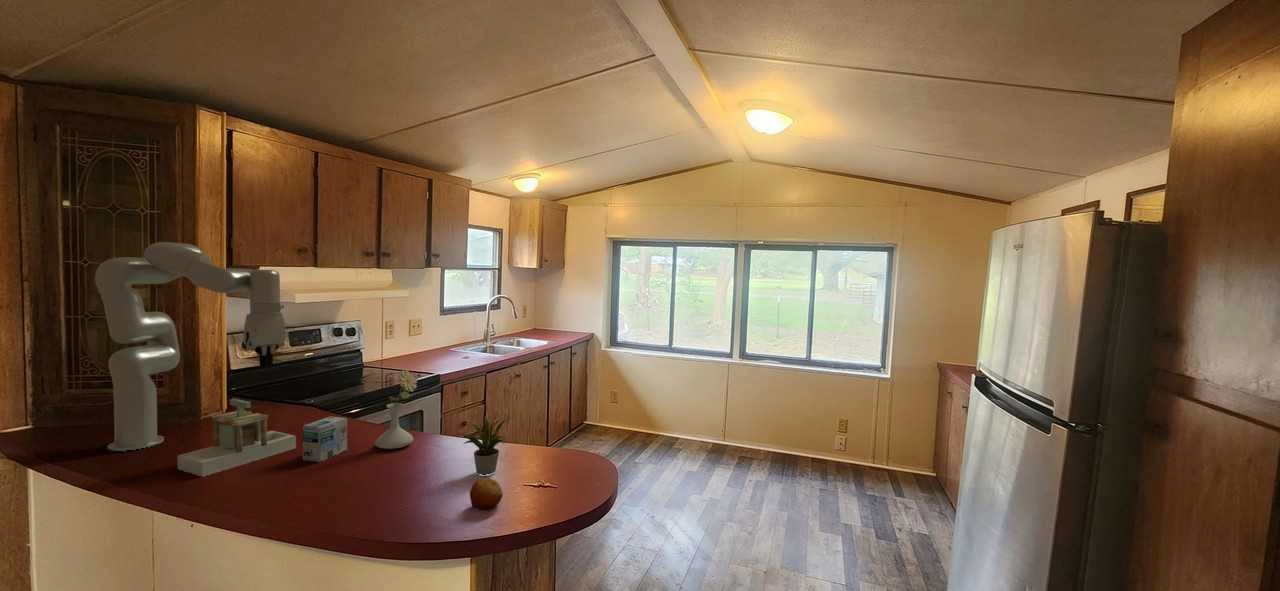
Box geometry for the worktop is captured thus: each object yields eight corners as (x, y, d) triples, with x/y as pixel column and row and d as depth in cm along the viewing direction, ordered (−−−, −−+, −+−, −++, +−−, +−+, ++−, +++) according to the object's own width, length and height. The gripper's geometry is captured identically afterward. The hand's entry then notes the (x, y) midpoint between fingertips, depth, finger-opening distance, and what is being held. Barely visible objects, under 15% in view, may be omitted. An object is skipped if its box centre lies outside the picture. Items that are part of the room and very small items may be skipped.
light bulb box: (320, 462, 147) (320, 427, 146) (301, 460, 148) (301, 425, 147) (348, 450, 157) (348, 417, 157) (330, 448, 158) (330, 415, 158)
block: (225, 446, 147) (225, 430, 147) (244, 441, 151) (244, 425, 151) (236, 449, 145) (236, 432, 145) (254, 443, 150) (254, 427, 149)
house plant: (493, 458, 154) (494, 407, 153) (523, 469, 146) (524, 415, 145) (452, 472, 142) (453, 417, 141) (482, 485, 134) (483, 426, 133)
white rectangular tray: (177, 469, 139) (177, 455, 139) (271, 442, 162) (271, 430, 162) (202, 477, 134) (202, 462, 134) (295, 448, 158) (295, 435, 157)
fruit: (466, 494, 125) (483, 468, 125) (493, 509, 126) (509, 483, 126) (457, 509, 117) (475, 481, 117) (485, 525, 118) (503, 497, 118)
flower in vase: (388, 454, 154) (389, 376, 153) (367, 447, 160) (367, 372, 159) (425, 443, 166) (425, 370, 165) (404, 436, 171) (404, 366, 170)
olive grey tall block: (218, 445, 146) (217, 402, 146) (245, 437, 153) (245, 396, 152) (234, 449, 143) (234, 405, 143) (262, 441, 150) (261, 399, 150)
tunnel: (211, 445, 147) (211, 416, 146) (242, 438, 154) (241, 409, 154) (238, 452, 142) (238, 422, 142) (268, 444, 149) (268, 415, 149)
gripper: (282, 307, 161) (283, 362, 162) (230, 310, 147) (231, 370, 148) (297, 308, 158) (298, 364, 159) (246, 311, 145) (247, 372, 145)
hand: (266, 367), depth 154 cm, fingers closed
